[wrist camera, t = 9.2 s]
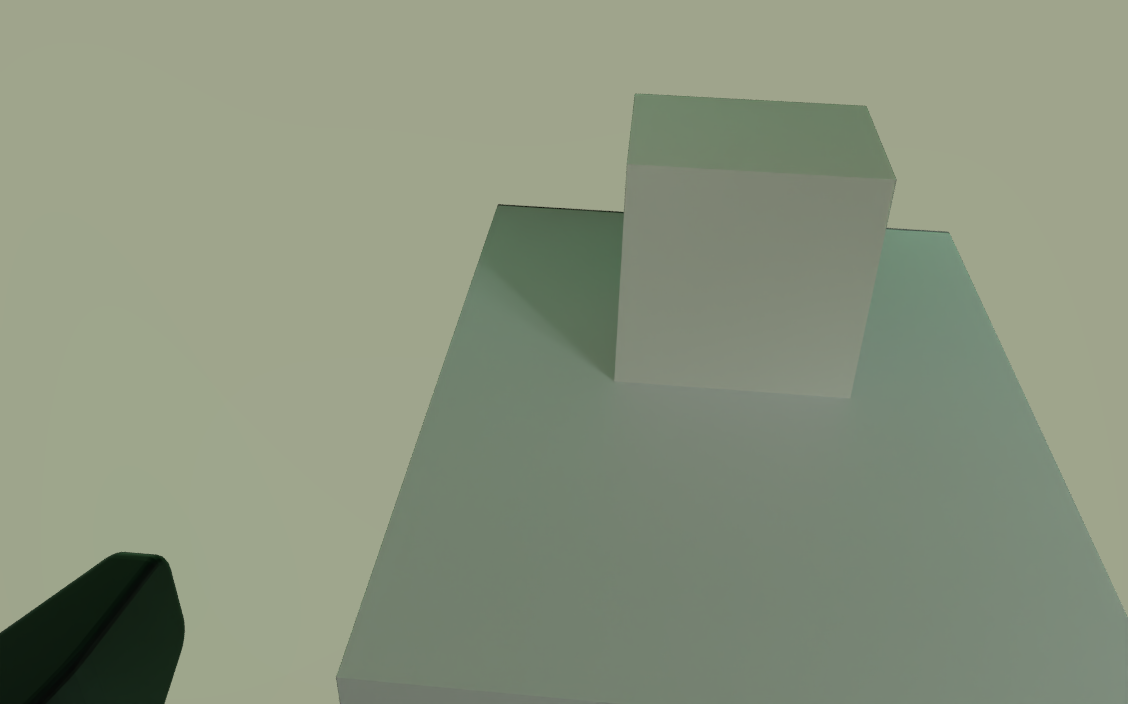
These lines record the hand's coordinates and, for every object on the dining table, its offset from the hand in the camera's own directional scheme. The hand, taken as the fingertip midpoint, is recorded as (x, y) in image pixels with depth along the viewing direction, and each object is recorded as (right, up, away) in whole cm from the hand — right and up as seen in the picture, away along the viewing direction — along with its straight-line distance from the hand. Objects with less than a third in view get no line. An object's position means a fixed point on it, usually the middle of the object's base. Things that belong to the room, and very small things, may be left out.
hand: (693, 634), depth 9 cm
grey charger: (0, +2, +3) cm, 4 cm away
